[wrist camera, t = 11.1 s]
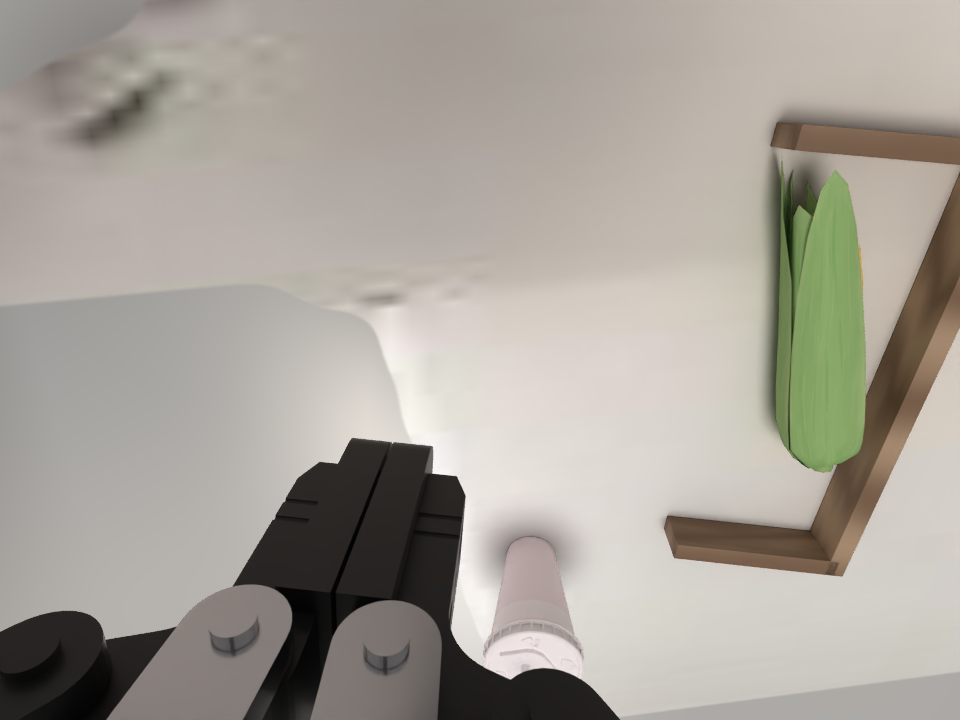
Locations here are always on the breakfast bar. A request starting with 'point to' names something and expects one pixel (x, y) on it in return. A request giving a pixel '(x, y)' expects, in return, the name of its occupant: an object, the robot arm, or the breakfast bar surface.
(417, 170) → the breakfast bar surface
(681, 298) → the breakfast bar surface
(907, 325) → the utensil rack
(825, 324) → the edible corn
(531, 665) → the smoothie
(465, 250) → the breakfast bar surface
